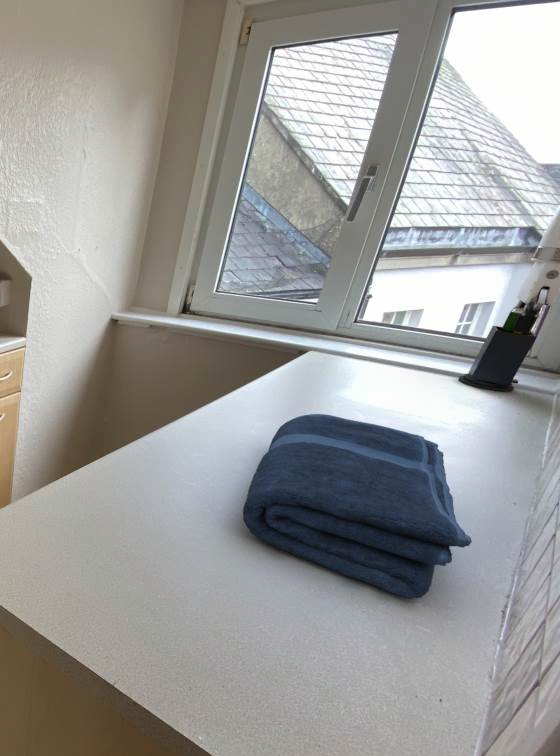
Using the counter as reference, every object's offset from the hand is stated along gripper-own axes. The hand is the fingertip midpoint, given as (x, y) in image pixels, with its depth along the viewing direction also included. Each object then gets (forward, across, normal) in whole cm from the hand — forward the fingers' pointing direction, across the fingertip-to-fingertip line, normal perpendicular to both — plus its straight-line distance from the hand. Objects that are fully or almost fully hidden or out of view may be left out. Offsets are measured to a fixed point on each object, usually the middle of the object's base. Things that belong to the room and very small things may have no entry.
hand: (516, 328), depth 141 cm
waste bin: (+15, 0, 0) cm, 15 cm away
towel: (+15, -104, +34) cm, 111 cm away
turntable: (+15, 0, 0) cm, 15 cm away
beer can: (+7, 0, 0) cm, 7 cm away
